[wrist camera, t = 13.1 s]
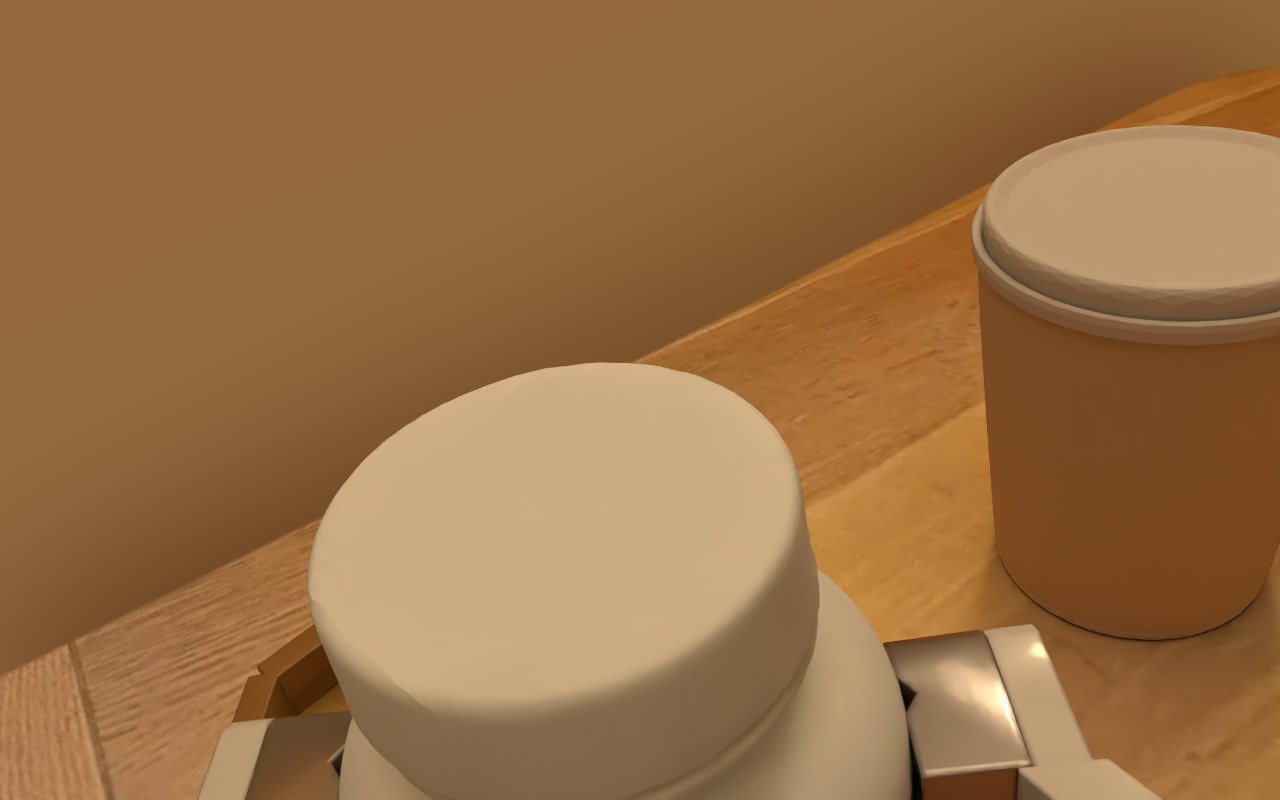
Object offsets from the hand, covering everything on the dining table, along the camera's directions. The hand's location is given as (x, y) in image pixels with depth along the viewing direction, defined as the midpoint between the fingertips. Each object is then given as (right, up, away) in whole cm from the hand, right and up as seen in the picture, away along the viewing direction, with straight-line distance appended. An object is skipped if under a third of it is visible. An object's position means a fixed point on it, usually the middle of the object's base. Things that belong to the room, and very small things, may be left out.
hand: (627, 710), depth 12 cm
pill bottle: (+1, -5, +3) cm, 6 cm away
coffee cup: (+15, -1, +23) cm, 27 cm away
